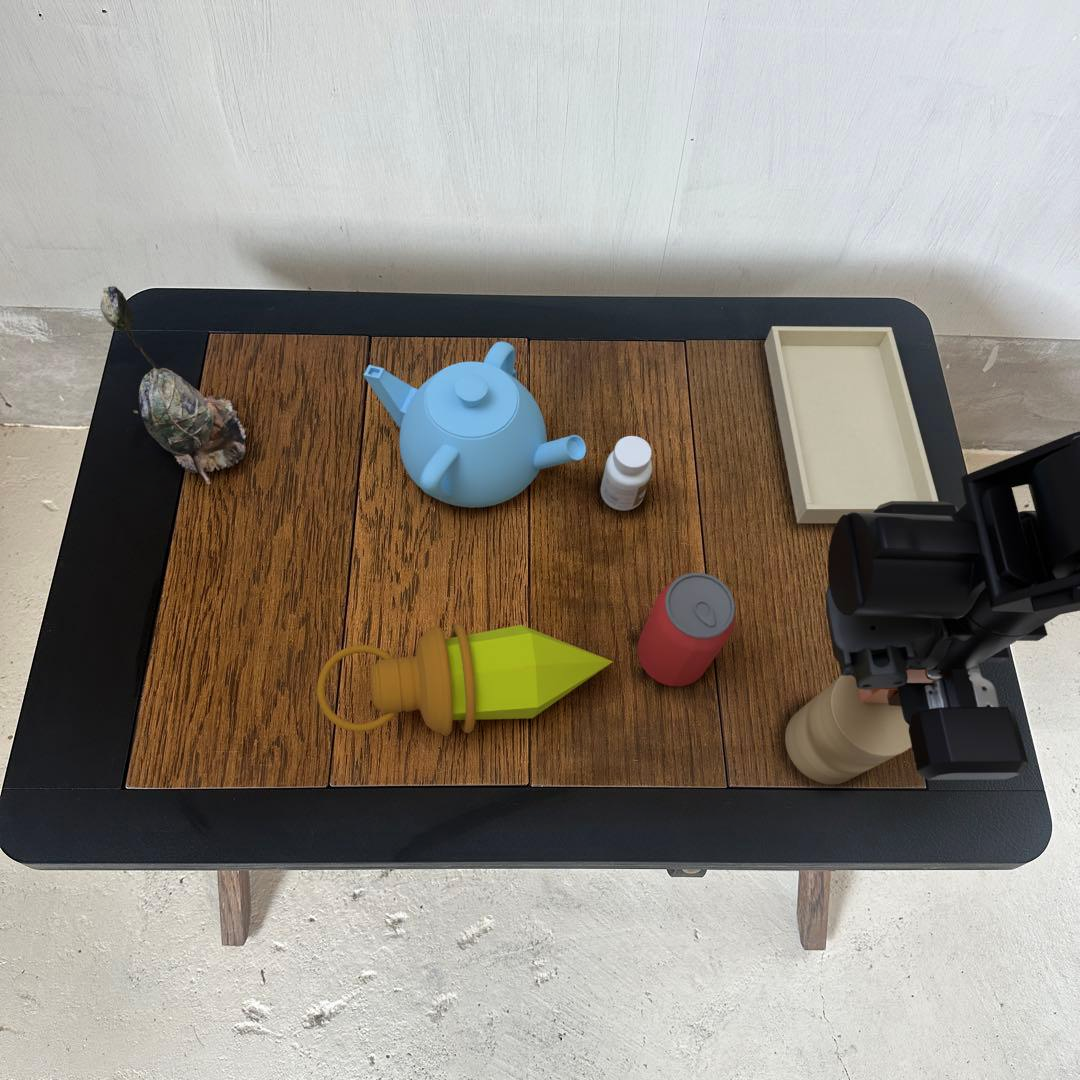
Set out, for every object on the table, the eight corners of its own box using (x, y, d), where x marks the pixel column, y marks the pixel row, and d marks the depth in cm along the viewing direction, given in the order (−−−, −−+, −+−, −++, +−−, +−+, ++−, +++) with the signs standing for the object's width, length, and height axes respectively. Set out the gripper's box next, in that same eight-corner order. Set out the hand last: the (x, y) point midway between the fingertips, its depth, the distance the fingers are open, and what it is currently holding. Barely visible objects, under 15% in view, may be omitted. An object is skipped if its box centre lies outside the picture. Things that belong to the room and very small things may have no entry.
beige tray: (926, 523, 85) (940, 508, 82) (797, 523, 84) (806, 509, 81) (880, 344, 95) (891, 326, 92) (764, 344, 94) (771, 325, 91)
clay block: (919, 702, 63) (941, 689, 60) (860, 702, 63) (879, 689, 60) (907, 645, 65) (927, 629, 62) (849, 645, 65) (867, 629, 62)
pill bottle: (644, 512, 84) (658, 472, 77) (600, 511, 84) (610, 470, 77) (643, 474, 86) (656, 431, 79) (599, 472, 86) (609, 429, 79)
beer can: (660, 701, 75) (687, 658, 65) (623, 638, 78) (643, 586, 67) (721, 669, 77) (758, 621, 66) (683, 608, 79) (713, 553, 69)
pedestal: (872, 722, 75) (931, 685, 65) (854, 797, 72) (913, 770, 62) (796, 692, 76) (843, 650, 66) (775, 765, 73) (821, 733, 63)
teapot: (442, 556, 81) (435, 498, 71) (371, 420, 87) (355, 349, 77) (583, 494, 84) (595, 431, 74) (505, 368, 91) (506, 294, 81)
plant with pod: (156, 496, 82) (61, 367, 64) (173, 399, 87) (90, 255, 69) (242, 495, 83) (171, 366, 65) (254, 399, 88) (192, 255, 70)
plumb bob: (592, 617, 79) (316, 644, 73) (620, 600, 71) (310, 630, 65) (606, 715, 77) (323, 751, 71) (637, 711, 69) (318, 751, 63)
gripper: (837, 453, 53) (765, 558, 67) (897, 751, 45) (801, 800, 59) (1008, 455, 54) (902, 559, 68) (1098, 750, 46) (957, 799, 60)
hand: (888, 671), depth 64 cm, fingers closed on clay block, 4 cm apart
